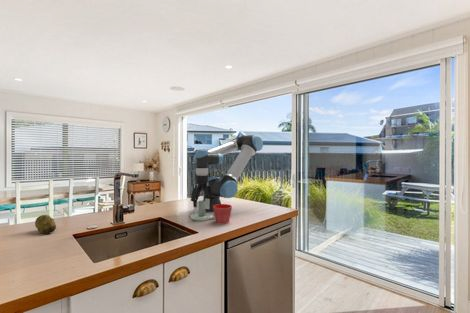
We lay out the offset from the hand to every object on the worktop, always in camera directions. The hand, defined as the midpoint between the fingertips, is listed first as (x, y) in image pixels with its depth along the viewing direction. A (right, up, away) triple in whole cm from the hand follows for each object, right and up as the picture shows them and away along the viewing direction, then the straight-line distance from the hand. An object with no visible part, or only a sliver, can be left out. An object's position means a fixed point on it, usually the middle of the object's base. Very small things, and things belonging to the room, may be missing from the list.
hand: (201, 210), depth 156 cm
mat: (0, -5, 0) cm, 5 cm away
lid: (0, -4, 0) cm, 4 cm away
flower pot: (+13, -5, -8) cm, 17 cm away
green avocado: (-76, -5, -28) cm, 81 cm away
